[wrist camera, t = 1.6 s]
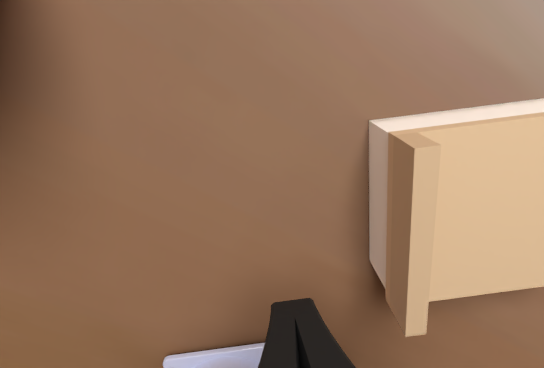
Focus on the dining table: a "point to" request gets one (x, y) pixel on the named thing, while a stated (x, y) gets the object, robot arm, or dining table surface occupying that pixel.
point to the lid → (463, 213)
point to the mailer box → (380, 160)
